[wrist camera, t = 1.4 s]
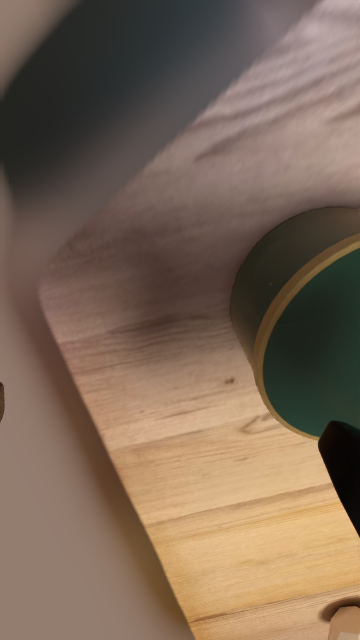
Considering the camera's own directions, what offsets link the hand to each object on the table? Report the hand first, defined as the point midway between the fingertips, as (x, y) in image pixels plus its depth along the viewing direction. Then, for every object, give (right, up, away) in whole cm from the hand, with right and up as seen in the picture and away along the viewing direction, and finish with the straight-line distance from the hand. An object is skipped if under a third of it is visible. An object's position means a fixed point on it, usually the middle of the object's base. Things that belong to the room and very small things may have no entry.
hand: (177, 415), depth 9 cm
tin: (+9, +4, +13) cm, 17 cm away
